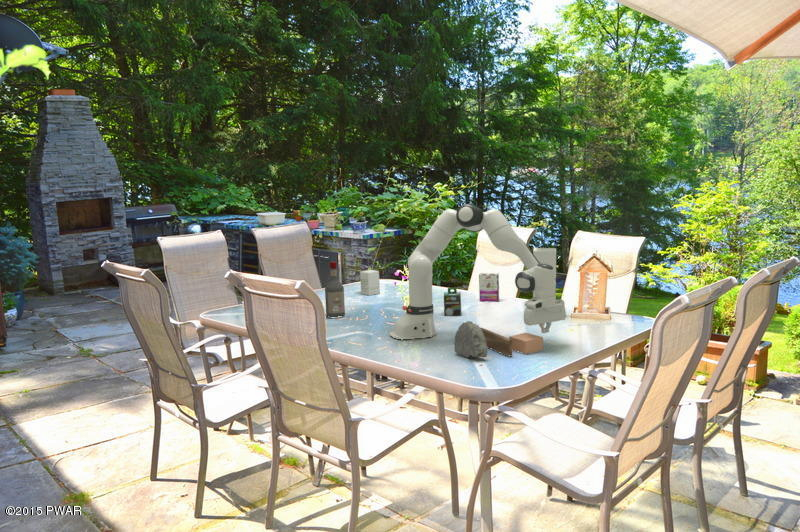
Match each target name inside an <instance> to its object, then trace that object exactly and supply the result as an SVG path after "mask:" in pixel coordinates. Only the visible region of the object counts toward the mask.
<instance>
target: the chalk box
mask: <svg viewBox="0 0 800 532" xmlns="http://www.w3.org/2000/svg"><path fill="white" fill-rule="evenodd" d="M451 290H453V291H451ZM461 295H462V294H461V291H457V287H448V288H447V291H444V293H443V309H444V312H443V313H444V317H445V316H450V317H451V316H453V317H454V316H455V317H458V316H459V317H461V316H462V299H461V297H462V296H461Z"/></svg>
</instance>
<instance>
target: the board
mask: <svg viewBox="0 0 800 532" xmlns="http://www.w3.org/2000/svg"><path fill="white" fill-rule="evenodd" d="M480 328H481V330H482V332H483V334H484V337H485V339H486V344H487V347H489V348H492V349H494V350H496V351H498V352H501V353H503V354H505V355H507V356H509V355H512V356H513V350H512V340H511V339H509V337H506V336H504V335H501V334H499V333H496V332H494V331H491V330H489V329H487V328H483V327H480ZM489 348H488V349H489ZM492 349H491V350H492ZM494 350H493V351H494ZM496 351H495V352H496ZM498 352H497V353H498ZM501 353H500V354H501ZM503 354H502V355H503ZM505 355H504V356H505ZM507 356H506V357H507ZM509 357H510V356H509Z"/></svg>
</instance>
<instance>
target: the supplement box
mask: <svg viewBox="0 0 800 532" xmlns="http://www.w3.org/2000/svg"><path fill="white" fill-rule="evenodd" d="M359 274H360V275H359V276H360V277H359V278H360V295H363V294H365V295H364V296H368V295H371V296H375V295H374V294H376V295H379V294H381V287H380V271H379V270H375V269H367V270H363V271H362V270H361V271H359Z"/></svg>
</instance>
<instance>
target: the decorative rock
mask: <svg viewBox="0 0 800 532" xmlns="http://www.w3.org/2000/svg"><path fill="white" fill-rule="evenodd" d="M457 328H458V330H457V331H456V332H455V334H454V335H455V336H454V342H453V343H454V353H457V354H459V355H461V356H463V357H465V358H467V357H468V358H467V359H470V358H469V357H472V356H473V357H474V358H487V355H488V348H487V344H486V339H485V337H484V334H483V332H482V330H481V328H482V327H481V326H480V325H478V324H476V323H474V322H473V321H469V320H468V321H466V322H463V323H461V324H460V325H459V327H457ZM473 357H472V358H473Z"/></svg>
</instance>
